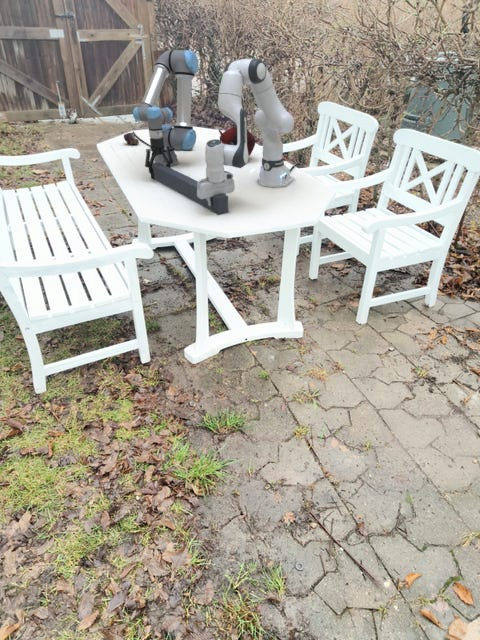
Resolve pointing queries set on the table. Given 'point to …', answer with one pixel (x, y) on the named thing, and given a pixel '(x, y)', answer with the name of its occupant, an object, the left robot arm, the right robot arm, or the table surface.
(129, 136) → the rock
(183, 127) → the left robot arm
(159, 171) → the post
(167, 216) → the table surface
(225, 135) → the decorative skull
